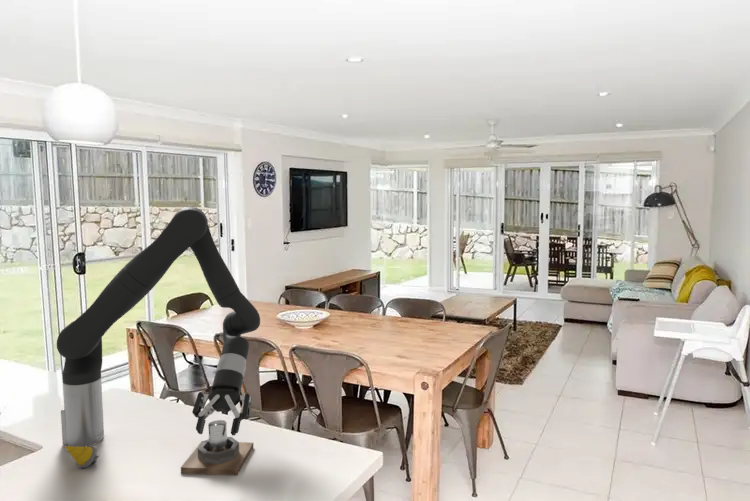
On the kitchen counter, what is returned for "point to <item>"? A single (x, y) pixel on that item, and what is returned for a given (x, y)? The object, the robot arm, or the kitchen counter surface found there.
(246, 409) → the robot arm
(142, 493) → the kitchen counter surface
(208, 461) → the socket board
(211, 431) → the steel peg
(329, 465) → the kitchen counter surface
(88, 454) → the drill bit
